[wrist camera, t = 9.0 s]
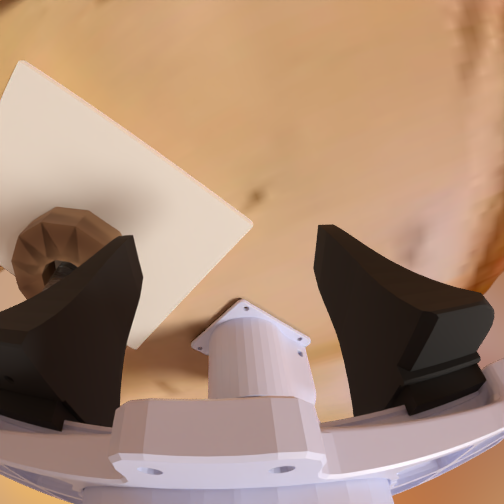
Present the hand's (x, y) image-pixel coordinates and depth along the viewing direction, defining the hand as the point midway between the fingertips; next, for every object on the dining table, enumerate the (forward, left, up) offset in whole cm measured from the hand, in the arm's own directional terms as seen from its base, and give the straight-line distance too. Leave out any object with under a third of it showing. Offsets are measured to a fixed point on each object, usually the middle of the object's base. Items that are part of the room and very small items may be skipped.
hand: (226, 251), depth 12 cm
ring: (+5, +14, -10) cm, 18 cm away
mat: (+7, +11, -10) cm, 17 cm away
